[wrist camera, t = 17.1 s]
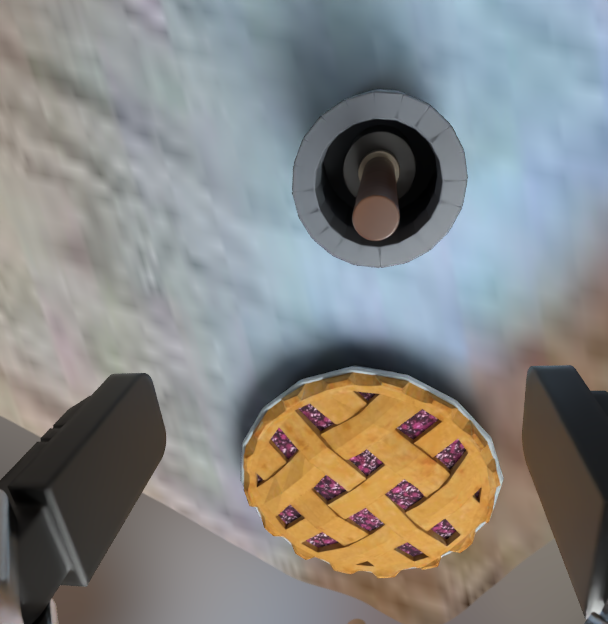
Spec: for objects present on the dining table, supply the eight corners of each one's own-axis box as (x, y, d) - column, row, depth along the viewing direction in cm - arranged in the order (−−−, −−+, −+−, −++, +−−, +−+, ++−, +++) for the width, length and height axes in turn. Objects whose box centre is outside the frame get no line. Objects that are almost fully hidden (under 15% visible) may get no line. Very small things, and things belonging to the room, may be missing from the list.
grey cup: (293, 163, 36) (259, 194, 26) (376, 59, 33) (372, 49, 23) (382, 241, 37) (381, 298, 27) (470, 149, 34) (505, 176, 24)
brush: (334, 162, 35) (295, 223, 20) (378, 109, 33) (372, 132, 18) (381, 203, 36) (378, 294, 20) (426, 155, 34) (460, 213, 19)
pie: (207, 459, 49) (189, 497, 44) (347, 300, 40) (342, 328, 35) (381, 575, 52) (380, 622, 47) (548, 452, 43) (567, 495, 38)
